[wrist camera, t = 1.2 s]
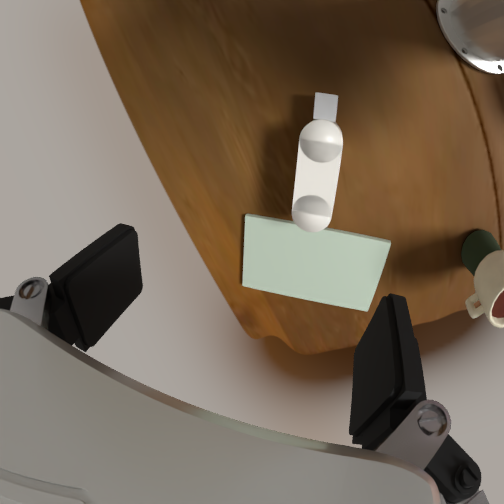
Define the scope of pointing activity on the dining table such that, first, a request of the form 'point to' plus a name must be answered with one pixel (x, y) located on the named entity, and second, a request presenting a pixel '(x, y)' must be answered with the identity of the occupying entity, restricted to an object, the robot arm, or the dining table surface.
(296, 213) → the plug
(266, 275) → the green board
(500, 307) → the character mug
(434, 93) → the dining table surface
